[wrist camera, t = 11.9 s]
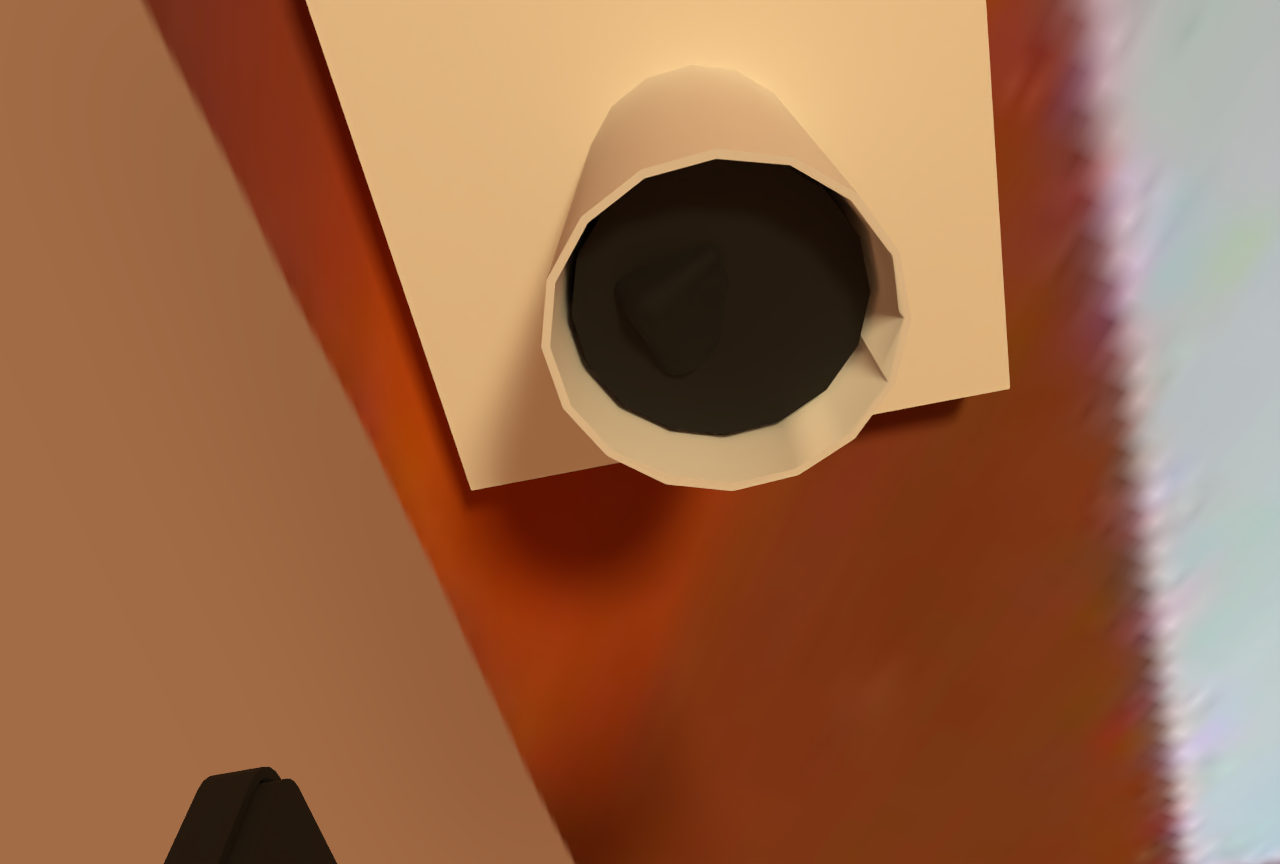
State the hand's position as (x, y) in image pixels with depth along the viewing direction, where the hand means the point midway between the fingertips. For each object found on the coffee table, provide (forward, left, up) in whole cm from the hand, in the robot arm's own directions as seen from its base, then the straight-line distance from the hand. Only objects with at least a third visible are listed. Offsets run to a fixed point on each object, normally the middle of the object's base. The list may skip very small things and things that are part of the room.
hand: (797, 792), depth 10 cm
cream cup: (0, 0, -21) cm, 21 cm away
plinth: (0, 0, -23) cm, 23 cm away
